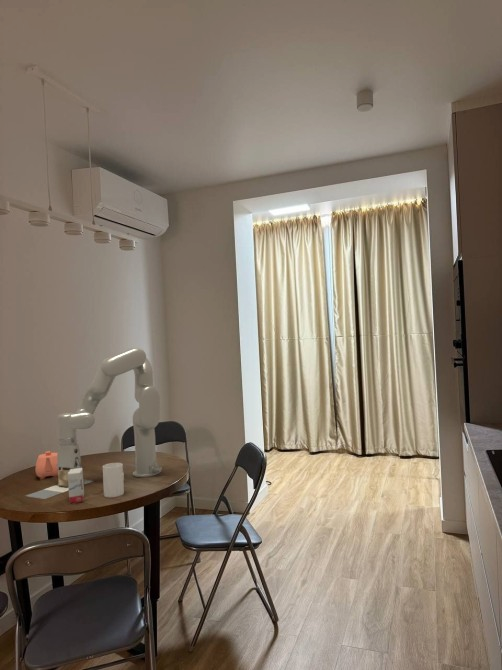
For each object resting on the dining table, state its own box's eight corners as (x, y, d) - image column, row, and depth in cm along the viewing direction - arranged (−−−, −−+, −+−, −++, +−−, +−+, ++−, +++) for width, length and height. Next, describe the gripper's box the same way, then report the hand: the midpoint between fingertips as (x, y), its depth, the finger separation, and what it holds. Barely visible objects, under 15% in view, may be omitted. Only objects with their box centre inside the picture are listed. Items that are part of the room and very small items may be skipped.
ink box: (82, 502, 187) (80, 472, 187) (68, 504, 186) (67, 474, 186) (84, 496, 195) (83, 467, 196) (71, 497, 194) (70, 468, 194)
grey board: (93, 483, 214) (93, 480, 214) (44, 501, 191) (44, 499, 191) (74, 480, 219) (74, 478, 219) (24, 498, 196) (24, 495, 196)
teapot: (36, 473, 236) (35, 449, 236) (62, 470, 240) (61, 446, 240) (34, 484, 217) (33, 457, 217) (62, 480, 222) (61, 454, 222)
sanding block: (79, 483, 211) (78, 467, 211) (66, 487, 205) (66, 471, 205) (71, 482, 213) (70, 466, 213) (58, 486, 207) (58, 470, 207)
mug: (119, 487, 205) (118, 459, 205) (126, 494, 194) (125, 465, 194) (100, 491, 201) (98, 462, 201) (106, 498, 190) (104, 468, 190)
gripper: (88, 440, 209) (90, 482, 209) (61, 438, 217) (63, 478, 216) (74, 444, 202) (76, 487, 202) (47, 442, 210) (49, 483, 210)
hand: (69, 482), depth 209 cm, fingers closed on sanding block, 5 cm apart
